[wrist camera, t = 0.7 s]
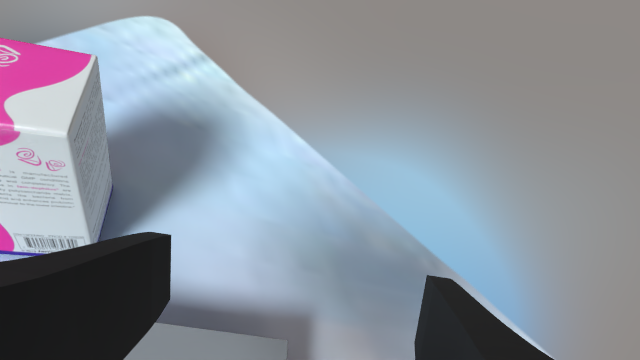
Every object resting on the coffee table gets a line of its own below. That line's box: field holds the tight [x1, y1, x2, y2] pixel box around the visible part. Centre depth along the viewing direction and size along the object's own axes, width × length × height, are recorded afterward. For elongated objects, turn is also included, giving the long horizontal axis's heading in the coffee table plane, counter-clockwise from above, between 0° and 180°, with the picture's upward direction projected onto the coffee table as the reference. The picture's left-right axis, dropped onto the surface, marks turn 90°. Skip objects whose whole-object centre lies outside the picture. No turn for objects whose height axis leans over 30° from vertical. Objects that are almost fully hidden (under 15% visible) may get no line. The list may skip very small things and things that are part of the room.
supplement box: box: [0, 38, 113, 256], centre depth 22 cm, size 6×6×12 cm
